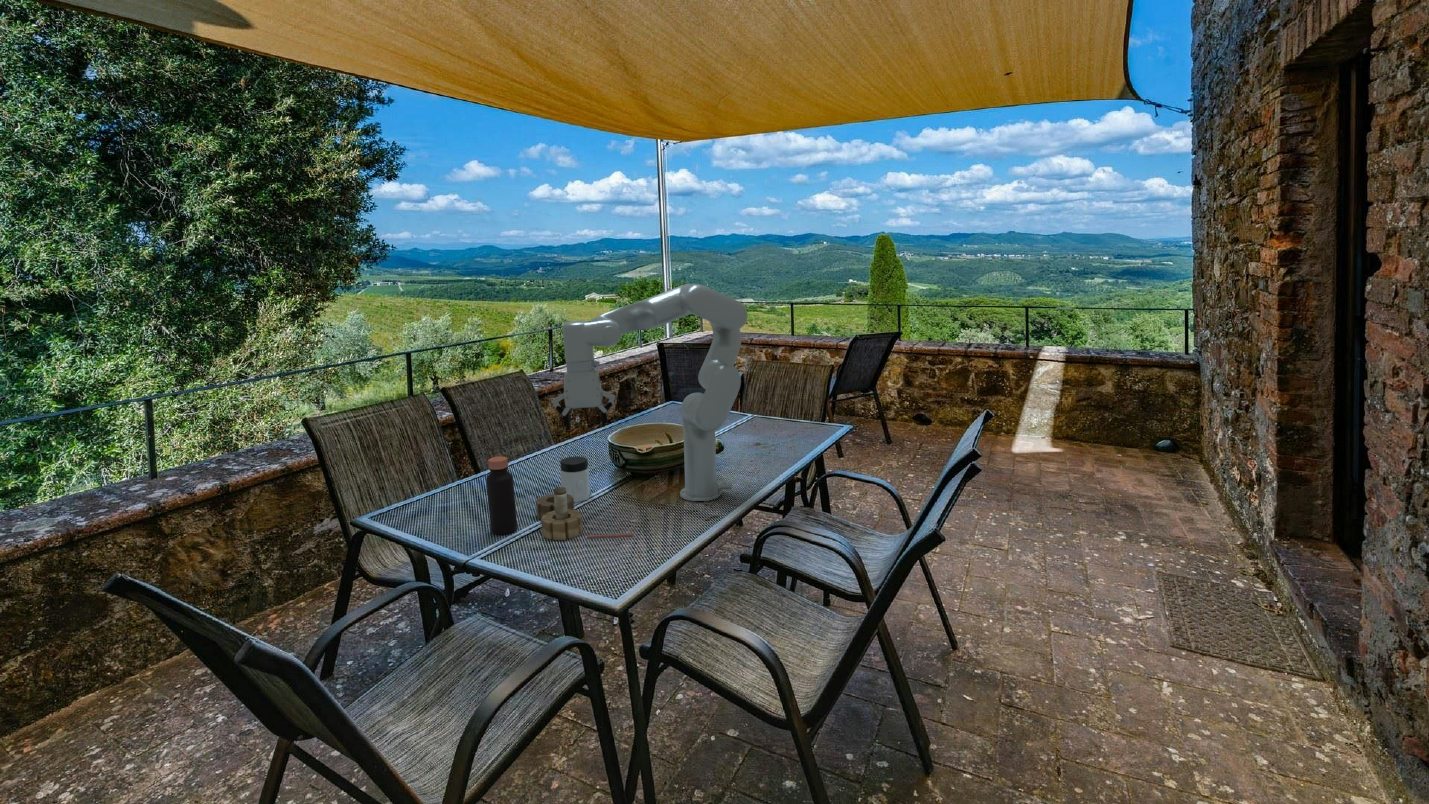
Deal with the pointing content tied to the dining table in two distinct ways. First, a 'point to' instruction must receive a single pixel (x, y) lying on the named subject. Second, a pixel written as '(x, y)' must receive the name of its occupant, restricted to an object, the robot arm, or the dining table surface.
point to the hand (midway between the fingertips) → (586, 427)
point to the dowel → (560, 503)
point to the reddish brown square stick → (610, 535)
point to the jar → (575, 477)
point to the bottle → (501, 497)
